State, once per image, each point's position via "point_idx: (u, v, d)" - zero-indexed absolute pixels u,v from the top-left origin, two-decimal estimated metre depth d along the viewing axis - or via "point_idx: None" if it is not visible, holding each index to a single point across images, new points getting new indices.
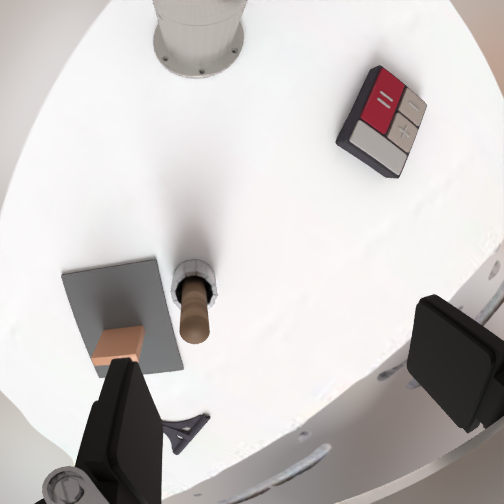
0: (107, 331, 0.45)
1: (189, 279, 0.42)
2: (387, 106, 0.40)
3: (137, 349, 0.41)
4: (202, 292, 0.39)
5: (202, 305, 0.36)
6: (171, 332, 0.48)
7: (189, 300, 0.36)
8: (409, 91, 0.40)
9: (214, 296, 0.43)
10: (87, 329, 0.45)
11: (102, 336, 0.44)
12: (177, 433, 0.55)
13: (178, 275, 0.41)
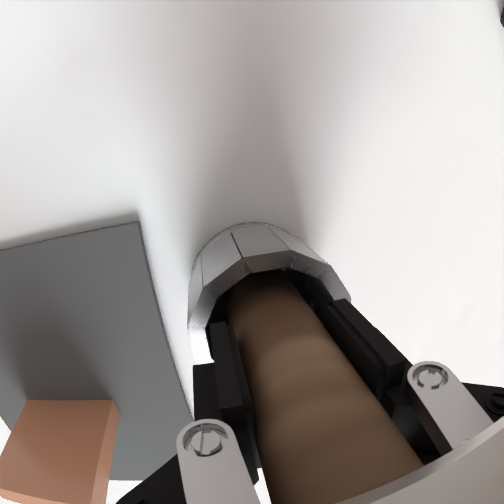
0: (34, 406, 0.15)
1: (254, 284, 0.12)
2: None
3: (96, 485, 0.10)
4: (330, 337, 0.09)
5: (391, 423, 0.05)
6: (186, 416, 0.18)
7: (315, 401, 0.06)
8: None
9: None
10: None
11: (21, 419, 0.14)
12: None
13: (217, 269, 0.11)
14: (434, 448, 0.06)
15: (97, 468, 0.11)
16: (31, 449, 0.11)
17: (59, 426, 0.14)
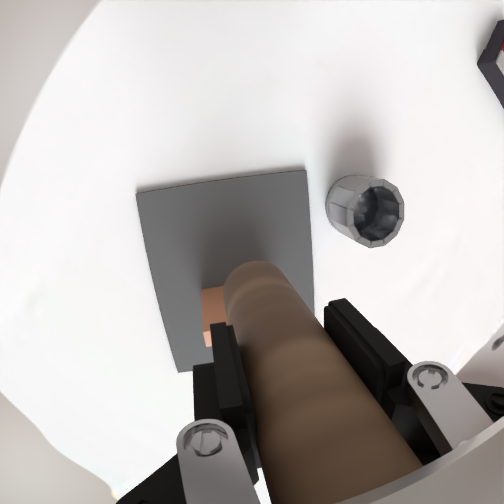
0: (210, 291, 0.30)
1: (254, 286, 0.12)
2: None
3: None
4: (330, 339, 0.09)
5: (390, 424, 0.05)
6: (311, 289, 0.33)
7: (315, 402, 0.06)
8: None
9: (400, 221, 0.27)
10: (171, 290, 0.30)
11: (205, 298, 0.29)
12: None
13: (357, 185, 0.26)
14: (434, 447, 0.06)
15: None
16: None
17: None
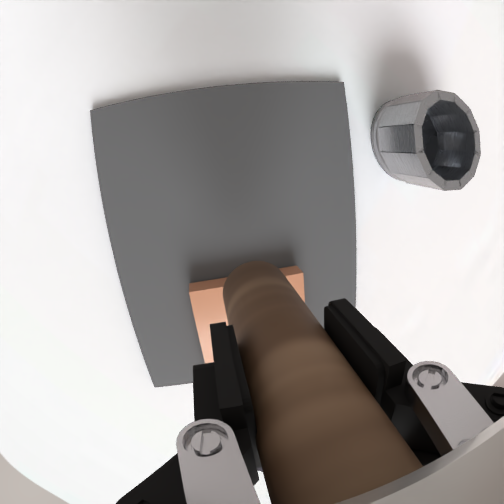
0: (206, 300, 0.19)
1: (254, 286, 0.12)
2: None
3: None
4: (330, 339, 0.09)
5: (390, 425, 0.05)
6: (353, 260, 0.21)
7: (315, 402, 0.06)
8: None
9: (476, 156, 0.16)
10: (139, 259, 0.19)
11: (201, 321, 0.19)
12: None
13: (421, 97, 0.15)
14: (434, 447, 0.06)
15: None
16: None
17: None
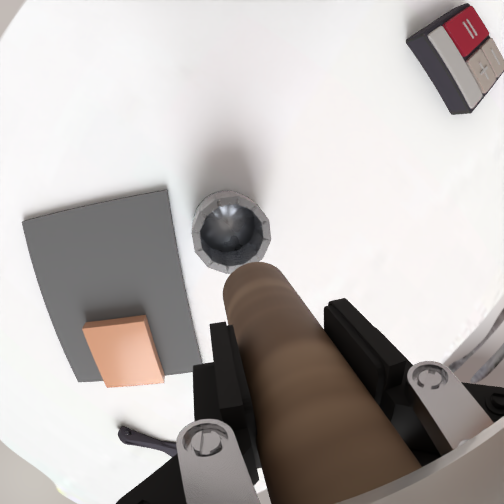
0: (91, 333, 0.29)
1: (254, 288, 0.12)
2: (471, 35, 0.24)
3: (160, 371, 0.31)
4: (331, 341, 0.09)
5: (390, 426, 0.05)
6: (187, 312, 0.31)
7: (315, 404, 0.06)
8: (493, 41, 0.25)
9: (265, 242, 0.26)
10: (58, 307, 0.29)
11: (91, 345, 0.29)
12: None
13: (206, 205, 0.25)
14: (434, 447, 0.06)
15: (158, 365, 0.31)
16: (115, 363, 0.30)
17: (121, 345, 0.29)
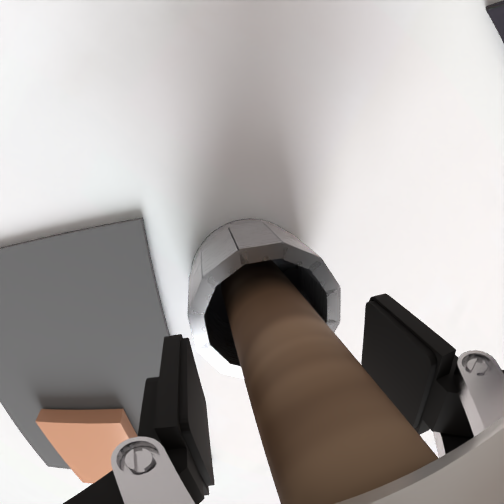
0: (49, 428, 0.16)
1: (251, 276, 0.13)
2: None
3: None
4: (322, 319, 0.10)
5: (378, 387, 0.06)
6: None
7: (307, 366, 0.07)
8: None
9: (330, 326, 0.13)
10: (3, 385, 0.16)
11: (52, 440, 0.16)
12: None
13: (215, 260, 0.12)
14: None
15: None
16: (88, 462, 0.17)
17: (92, 446, 0.17)
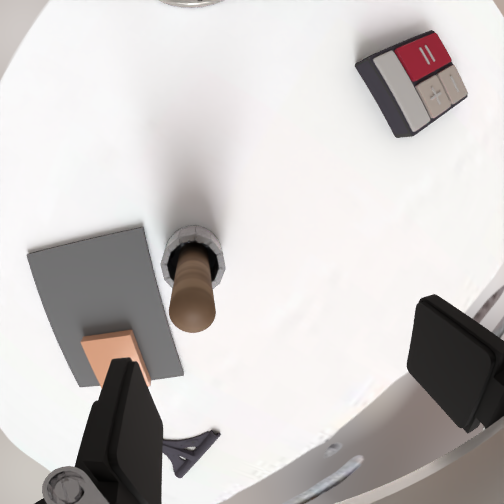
0: (88, 345, 0.34)
1: (186, 249, 0.31)
2: (427, 61, 0.30)
3: (146, 376, 0.37)
4: (204, 262, 0.28)
5: (204, 276, 0.24)
6: (166, 326, 0.37)
7: (185, 270, 0.25)
8: (454, 69, 0.31)
9: (221, 270, 0.31)
10: (60, 324, 0.34)
11: (88, 355, 0.34)
12: (179, 453, 0.43)
13: (171, 242, 0.30)
14: None
15: (144, 371, 0.36)
16: None
17: (112, 355, 0.35)
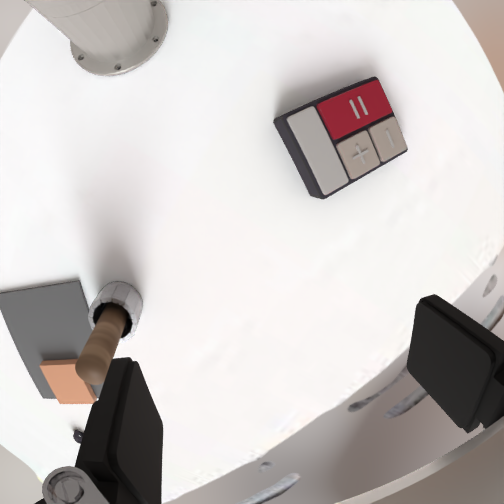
0: (45, 369, 0.38)
1: (108, 306, 0.35)
2: (356, 115, 0.34)
3: (91, 395, 0.41)
4: (114, 323, 0.32)
5: (105, 340, 0.28)
6: None
7: (94, 333, 0.29)
8: (394, 121, 0.35)
9: (134, 325, 0.35)
10: (24, 350, 0.38)
11: (46, 376, 0.38)
12: None
13: (94, 301, 0.34)
14: None
15: (89, 391, 0.40)
16: (62, 388, 0.39)
17: (64, 377, 0.39)
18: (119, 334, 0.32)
